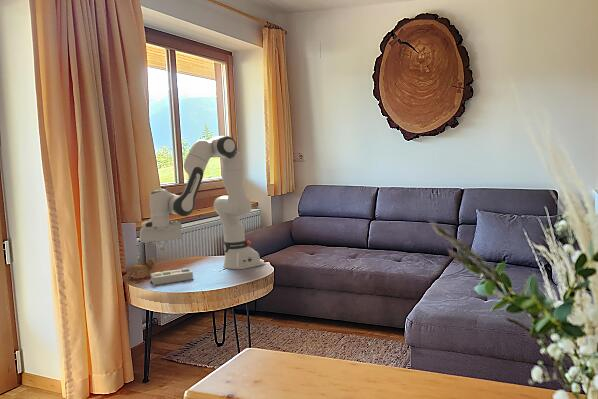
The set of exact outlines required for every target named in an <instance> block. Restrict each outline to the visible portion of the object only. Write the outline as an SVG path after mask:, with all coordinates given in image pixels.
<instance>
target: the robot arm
mask: <svg viewBox="0 0 598 399" xmlns="http://www.w3.org/2000/svg"><path fill="white" fill-rule="evenodd" d="M211 158H221V161H222V174H221V175H222V182H221V183H222V186H223V188H225V190H226V193H227V194H226V195H222V196H218V197H217V198H215V200H214V202H213V209H214V211H215V212H216V213H217V215H218V218H219V219H220V221H221V224H222V229H223V237H224V241H223V250H224V260H223V268H224V269H228V270H229V269H230V270H245V269H249V268H254V267H257V266H258V267H260V266H263V265H265V261H264V260H262V259H261V258H260V254H259V252H258V251H256V250H255V249H254V248H252V247H251V246H250V245H251V244H252V242H251V241H250V240H246V239H245V227H244V224H243V223H242V222H241V221H240V218H239V217H244V216H247V215H249V214H250V213H251V210H252V203H251V200H250V199H249V198H248V197H247V195H246V191H245V188H244V166H243V165H244V162H243V156H242V153H241V152H240V151H238V146H237V143H236V141H235V139H234V138H233V137H231V136H229V135H220V136H215V137H210V138H208V139H202V138H201V139H198V140H196V141H195V142H194V144H193V145H192V146H191V147H190V150H189V152H188V154H187V155H186V157H185V160H184V163H183V168H184V171H185V173H186V174H187V175H188V179H187V182H186V185H185V188H184V190H183V193H182V194H180V195H177V194H175V193H171V192H170V191H169V190H167V189H164V188H160V189H156V190H152V192H151V193H150V195H149V210H150V218H149V219H147V220H145V221H143V222H141V227H140V230H139V241H140V243H142V244H143V243H155V244H156V246H157V249H158V251H165V250H166V246H167V244H168V241H175V240H176V241H178V240H181V239H182V238H183V235H182V234H183V233H182V223H181V222H180V221H178V220H172V221H170V214H174V215H179V216H180V217H187V216H188V217H189V215H191V214H192V213H193V211H194V209H195V204H196V197H197V194H198V192H199V189H200V187H201V184H202V181H203V177H204V172H205V170H206V168H207V166H208V164H209V161H210V159H211ZM160 242H163V244H162V245H160Z"/></svg>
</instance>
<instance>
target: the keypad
mask: <svg viewBox="0 0 598 399" xmlns="http://www.w3.org/2000/svg"><path fill="white" fill-rule="evenodd" d="M187 268H188V269H189V271H186V272H182V271H181V269H182V268H179V269H174V270H169V271H170V272H171V274H166V275H163V271H160V272H161V275H160V276H154V273H155V272H153V273H150V275H151V276H150V281H151V283H152V284H153V286H154V287H158V286H159V287H160V286H165V285H170V284H176V283H177V284H178V283H182V282H183V283H185V282H191V281H194V273H193V271H192V270H191V269H190V268H189V267H187ZM173 272H180V273H173Z"/></svg>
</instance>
